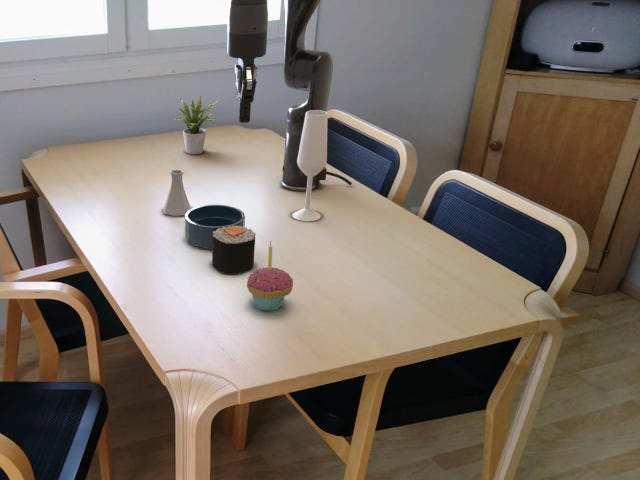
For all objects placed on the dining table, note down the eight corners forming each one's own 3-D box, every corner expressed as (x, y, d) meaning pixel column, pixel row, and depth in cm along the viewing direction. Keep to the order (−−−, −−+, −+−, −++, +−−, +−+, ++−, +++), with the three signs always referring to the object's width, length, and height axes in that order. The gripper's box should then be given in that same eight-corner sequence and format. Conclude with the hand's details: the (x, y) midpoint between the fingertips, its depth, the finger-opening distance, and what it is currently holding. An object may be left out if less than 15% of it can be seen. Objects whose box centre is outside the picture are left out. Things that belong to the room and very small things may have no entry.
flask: (189, 217, 164) (189, 177, 158) (160, 216, 165) (159, 175, 160) (194, 206, 170) (194, 167, 164) (165, 205, 171) (164, 166, 165)
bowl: (240, 226, 159) (241, 203, 156) (246, 250, 148) (248, 226, 145) (184, 227, 159) (184, 205, 156) (186, 251, 148) (186, 228, 145)
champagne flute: (323, 212, 164) (335, 110, 151) (316, 222, 159) (328, 117, 146) (296, 209, 167) (305, 108, 153) (288, 218, 162) (297, 115, 148)
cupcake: (242, 295, 131) (244, 237, 124) (285, 292, 131) (290, 235, 125) (250, 317, 124) (254, 257, 117) (296, 314, 124) (302, 254, 117)
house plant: (220, 159, 200) (222, 102, 191) (173, 160, 201) (173, 103, 191) (217, 145, 212) (219, 90, 203) (173, 146, 212) (172, 91, 203)
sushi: (205, 263, 143) (206, 227, 138) (238, 254, 146) (240, 219, 142) (226, 278, 137) (227, 241, 132) (260, 268, 140) (262, 232, 136)
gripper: (272, 33, 124) (267, 130, 133) (262, 22, 135) (257, 112, 144) (231, 35, 124) (229, 131, 133) (224, 24, 135) (222, 113, 144)
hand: (244, 121), depth 139 cm, fingers closed
